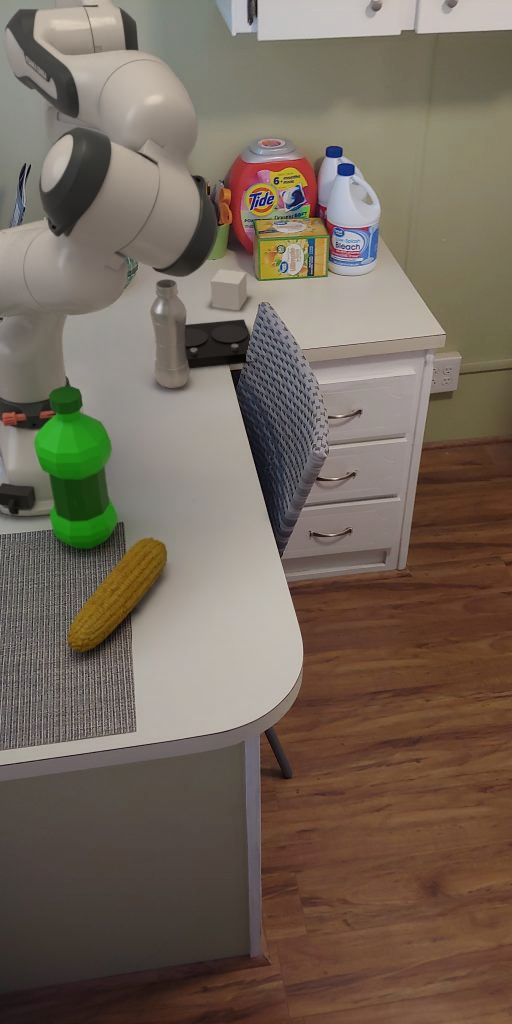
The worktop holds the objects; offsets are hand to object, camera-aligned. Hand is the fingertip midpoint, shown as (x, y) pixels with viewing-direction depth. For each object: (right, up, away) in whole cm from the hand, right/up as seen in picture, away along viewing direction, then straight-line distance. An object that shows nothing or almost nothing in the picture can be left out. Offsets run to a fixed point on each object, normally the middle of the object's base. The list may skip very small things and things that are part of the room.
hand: (104, 180), depth 152 cm
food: (+6, -68, -25) cm, 72 cm away
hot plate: (+16, -22, +32) cm, 42 cm away
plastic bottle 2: (+9, -30, +22) cm, 39 cm away
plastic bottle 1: (0, -58, -13) cm, 60 cm away
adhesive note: (+19, -9, +48) cm, 52 cm away
